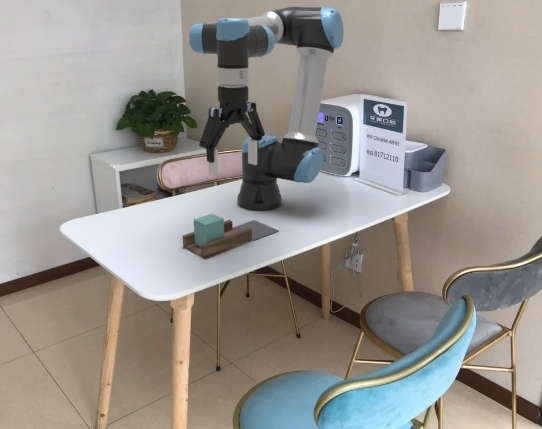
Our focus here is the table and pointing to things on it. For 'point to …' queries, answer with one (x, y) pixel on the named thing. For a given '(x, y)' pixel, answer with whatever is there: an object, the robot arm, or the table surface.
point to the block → (208, 229)
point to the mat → (256, 229)
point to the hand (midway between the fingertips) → (233, 169)
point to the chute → (218, 241)
